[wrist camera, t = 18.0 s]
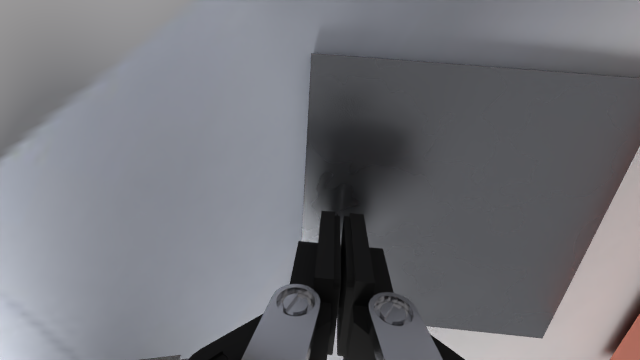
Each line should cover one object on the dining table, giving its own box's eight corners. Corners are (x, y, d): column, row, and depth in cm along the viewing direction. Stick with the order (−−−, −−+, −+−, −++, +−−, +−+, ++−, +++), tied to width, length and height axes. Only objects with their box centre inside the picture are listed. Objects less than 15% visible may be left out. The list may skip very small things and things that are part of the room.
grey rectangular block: (299, 303, 16) (297, 312, 15) (313, 53, 11) (311, 53, 10) (535, 328, 15) (542, 338, 15) (655, 79, 11) (672, 80, 10)
